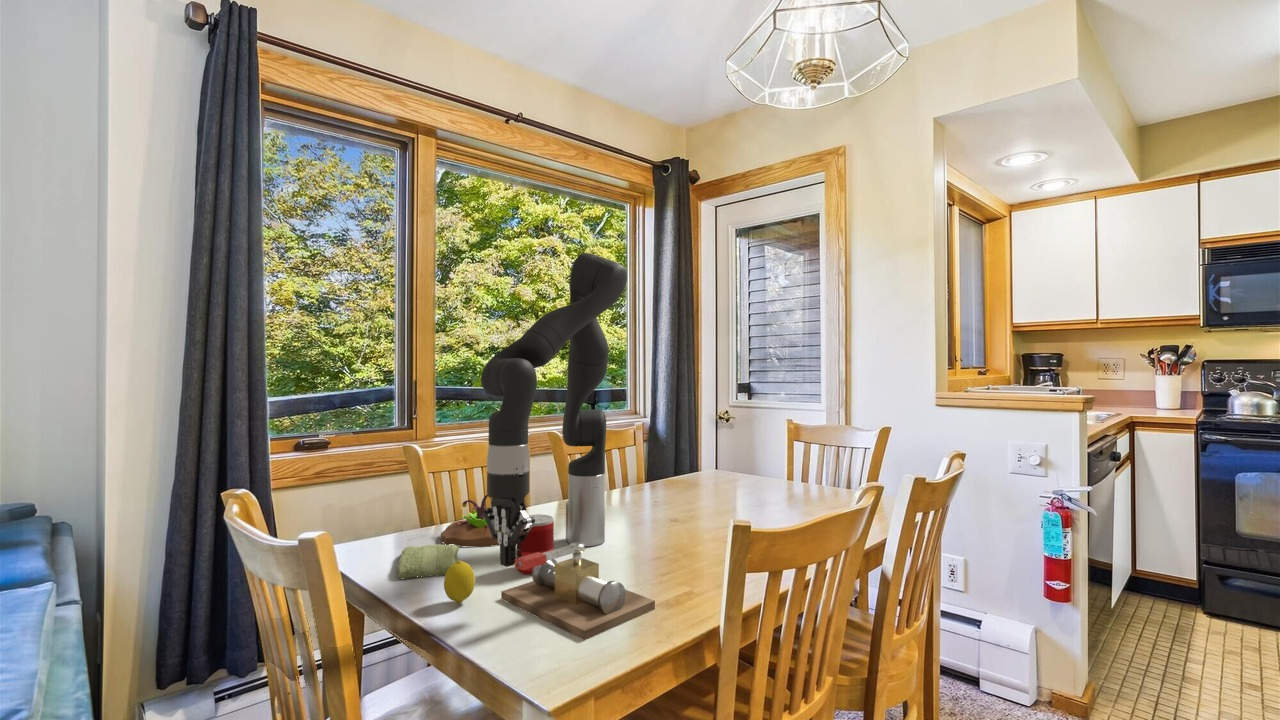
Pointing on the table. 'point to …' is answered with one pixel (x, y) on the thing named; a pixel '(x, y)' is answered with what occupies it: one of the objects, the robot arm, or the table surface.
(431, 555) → the washcloth
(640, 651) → the table surface
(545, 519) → the canned food
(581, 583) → the valve body
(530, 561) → the valve lever
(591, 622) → the walnut board
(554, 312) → the robot arm
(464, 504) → the plant
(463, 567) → the lemon
